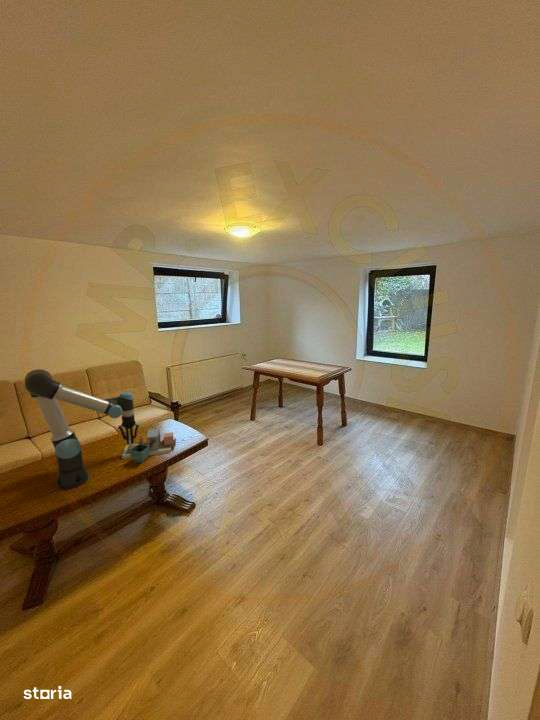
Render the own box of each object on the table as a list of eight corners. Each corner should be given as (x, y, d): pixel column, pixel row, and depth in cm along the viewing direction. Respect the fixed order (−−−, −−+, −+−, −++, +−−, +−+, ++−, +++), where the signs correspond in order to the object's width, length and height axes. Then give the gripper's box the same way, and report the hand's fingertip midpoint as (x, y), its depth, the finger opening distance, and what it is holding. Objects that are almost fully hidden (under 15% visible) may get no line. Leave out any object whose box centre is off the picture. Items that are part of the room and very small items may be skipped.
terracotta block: (164, 445, 200) (163, 437, 199) (164, 441, 206) (164, 433, 205) (173, 444, 202) (172, 436, 201) (173, 440, 207) (173, 432, 206)
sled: (139, 450, 195) (138, 442, 194) (141, 445, 203) (140, 437, 202) (175, 446, 201) (174, 438, 200) (175, 441, 209) (175, 433, 208)
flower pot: (142, 465, 183) (141, 452, 181) (130, 463, 185) (128, 450, 183) (150, 458, 192) (149, 445, 190) (139, 456, 193) (137, 444, 192)
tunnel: (147, 451, 195) (146, 437, 193) (150, 443, 207) (148, 429, 205) (158, 450, 197) (157, 436, 195) (160, 441, 208) (159, 428, 206)
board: (122, 458, 190) (122, 455, 190) (126, 448, 204) (126, 445, 203) (170, 452, 198) (170, 449, 198) (171, 443, 212) (171, 439, 211)
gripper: (115, 418, 188) (119, 452, 192) (137, 416, 191) (140, 449, 195) (118, 414, 195) (121, 446, 199) (139, 412, 198) (142, 444, 203)
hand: (130, 448), depth 197 cm, fingers closed
